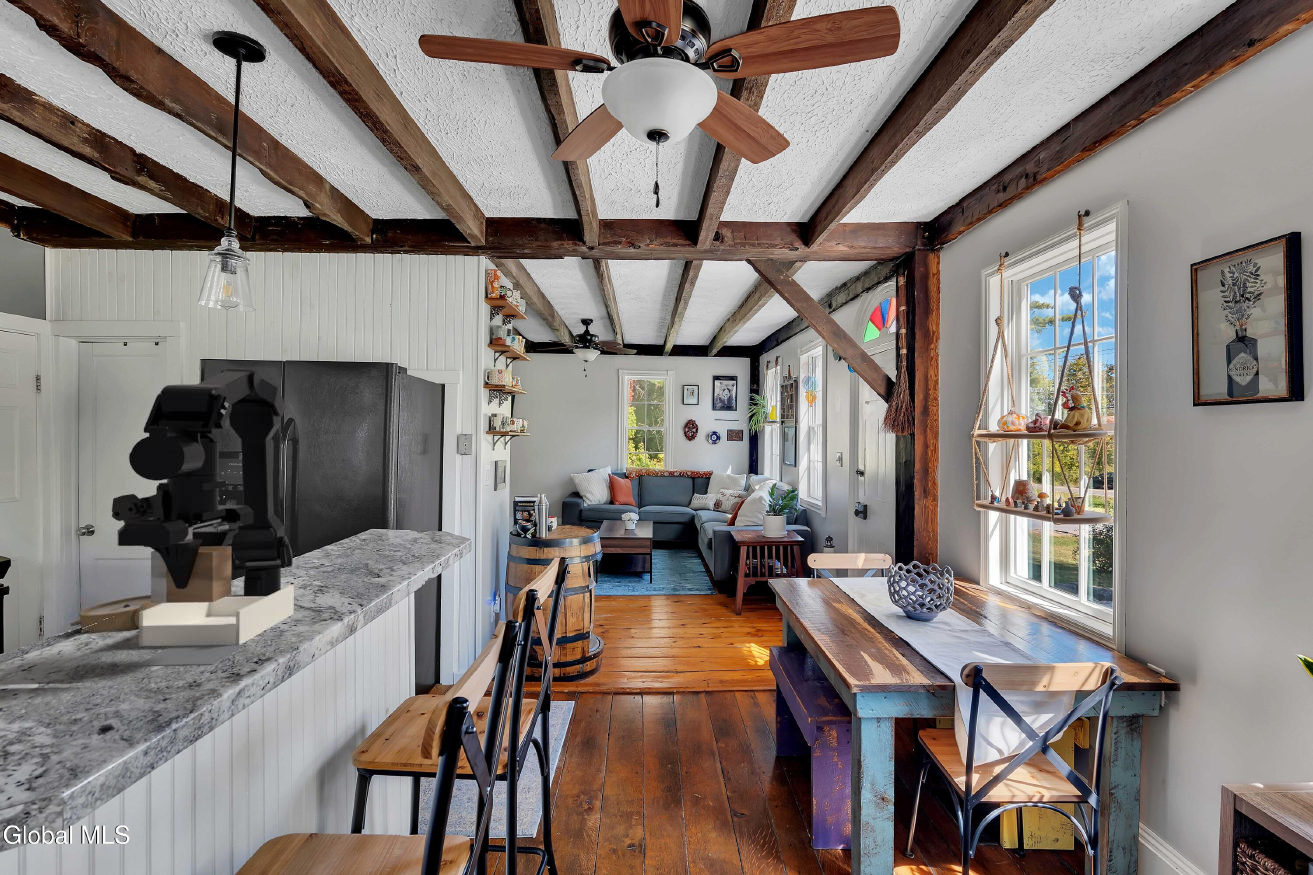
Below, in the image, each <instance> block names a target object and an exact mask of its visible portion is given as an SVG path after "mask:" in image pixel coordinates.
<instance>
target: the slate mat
mask: <svg viewBox="0 0 1313 875" xmlns="http://www.w3.org/2000/svg"><path fill="white" fill-rule="evenodd" d="M244 647H245V645H244V644H240V645H204V646H169V647H168V648H166V649H164V650H162V651H159V652H158V653H156V654H154V655H152V656H150V657H148V658H145V659H144V660H141V661H139V662H137V663H135V664H134V665H133V667H165V666H167V667H168V666H169V667H170V666H171V667H172V666H213V665H215V664H217V663H219V662H221V660H223V659H225V658H227V657H228V656H230V655H233V653H235V652H237V651H238V650H240V649H242V648H244Z"/></svg>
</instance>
